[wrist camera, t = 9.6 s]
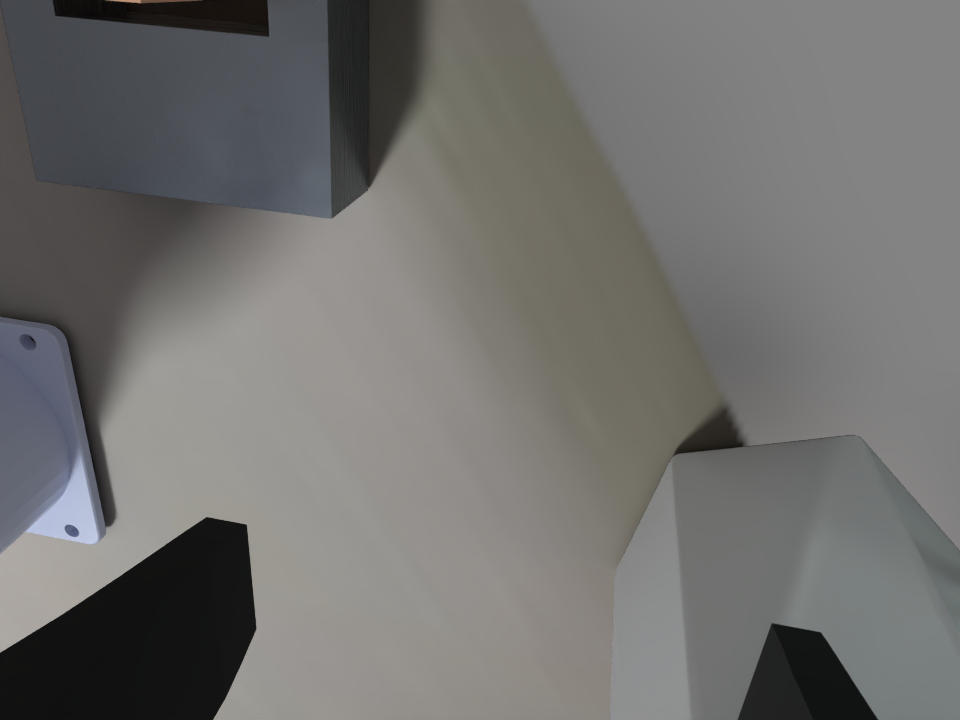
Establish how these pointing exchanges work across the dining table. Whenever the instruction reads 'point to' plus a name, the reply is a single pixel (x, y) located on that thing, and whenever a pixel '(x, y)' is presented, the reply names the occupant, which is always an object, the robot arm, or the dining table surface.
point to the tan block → (152, 1)
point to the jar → (784, 582)
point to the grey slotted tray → (198, 101)
